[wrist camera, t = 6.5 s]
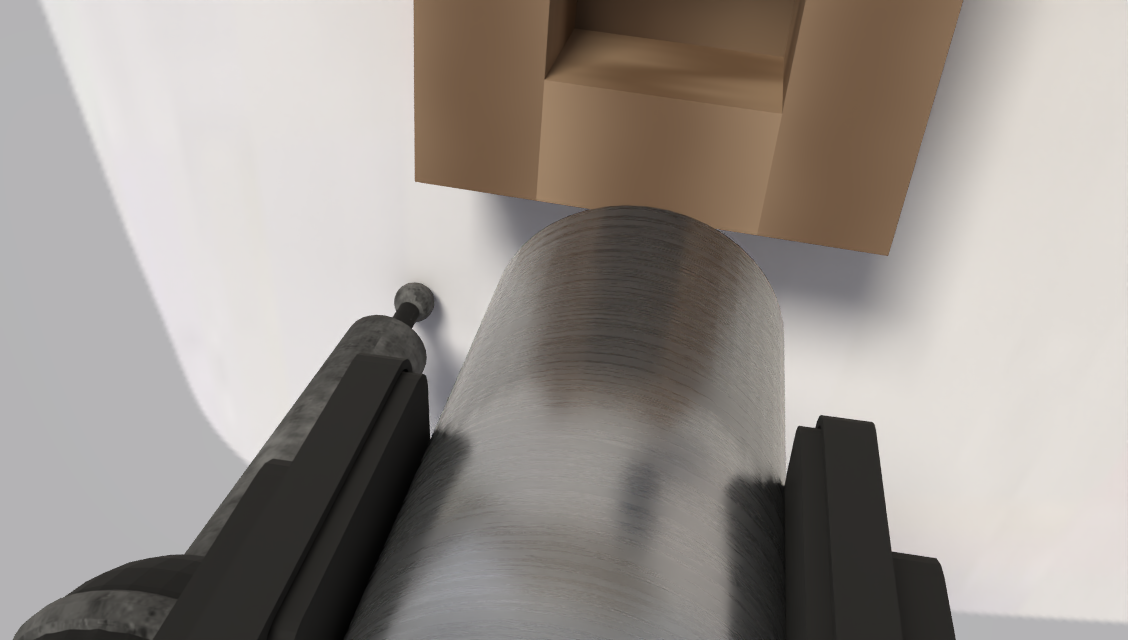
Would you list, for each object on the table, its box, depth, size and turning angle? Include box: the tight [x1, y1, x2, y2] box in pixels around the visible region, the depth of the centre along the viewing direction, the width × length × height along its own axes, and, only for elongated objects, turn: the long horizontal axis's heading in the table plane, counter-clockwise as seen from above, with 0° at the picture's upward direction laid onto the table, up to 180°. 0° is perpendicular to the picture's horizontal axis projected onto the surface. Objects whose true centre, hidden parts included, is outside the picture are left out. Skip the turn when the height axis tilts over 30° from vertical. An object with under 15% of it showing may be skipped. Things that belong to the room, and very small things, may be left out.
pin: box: [343, 205, 786, 640], centre depth 10 cm, size 4×4×10 cm
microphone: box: [13, 283, 434, 640], centre depth 26 cm, size 7×7×20 cm
